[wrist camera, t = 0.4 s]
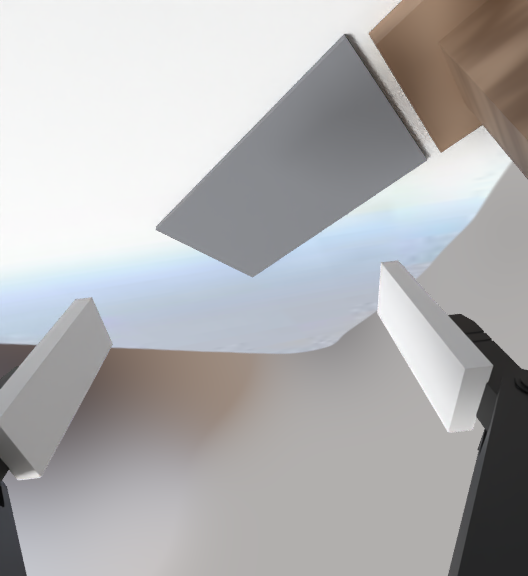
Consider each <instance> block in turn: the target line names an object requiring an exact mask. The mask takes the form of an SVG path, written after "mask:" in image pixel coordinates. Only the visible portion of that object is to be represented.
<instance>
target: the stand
mask: <svg viewBox="0 0 528 576" xmlns="http://www.w3.org/2000/svg"><path fill="white" fill-rule="evenodd" d="M369 35H370V37H371V39H372V40H373V42H374V44H375V45H376V47H377V49H378V50H379V52H380V54H381V55H382V57H383V58H384V60H385V62H386V63H387V65H388V67H389V68H390V70H391V72H392V73H393V75H394V77H395V78H396V80H397V82H398V83H399V85H400V87H401V88H402V90H403V92H404V93H405V95H406V97H407V98H408V100H409V102H410V103H411V105H412V107H413V108H414V110H415V112H416V113H417V115H418V116H419V118H420V120H421V121H422V123H423V125H424V126H425V128H426V130H427V131H428V133H429V135H430V136H431V138H432V140H433V141H434V143H435V144H436V146H437V147H438V149H439V150H440V152H443V151H444V150H446V149H447V148H449V147H450V146H452V145H453V144H455V143H456V142H458V141H459V140H461V139H462V138H464V137H465V136H467V135H468V134H470V133H471V132H473V131H474V130H476V129H477V128H479V127H480V126H482V125H483V126H484V127H485V128H486V129H487V131H488V132H489V133H490V134H491V136H492V137H493V138H494V139H495V140H496V142H497V143H498V144H499V145H500V146H501V148H502V149H503V150H504V151H505V152H506V154H507V155H508V156H509V157H510V158H511V160H512V161H513V162H514V163H515V164H516V166H517V167H518V168H519V169H520V171H522V173H523V174H524V175H525V177H526V178H527V179H528V0H402V1H401V2H400V3H399V4H398V5H397V6H396V7H395V8H394V9H393V10H392V11H391V12H390V13H389V14H388V15H387V16H386V17H385V18H384V19H383V20H382V21H381V22H380V23H379V24H378V25H377V26H376V27H375V28H374V29H373V30H372V31H371V32H370V33H369Z"/></svg>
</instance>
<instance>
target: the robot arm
mask: <svg viewBox="0 0 528 576" xmlns="http://www.w3.org/2000/svg"><path fill="white" fill-rule="evenodd" d="M377 313H378V315H379V317H380V318H381V320H382V322H383V323H384V325H385V327H386V328H387V330H388V332H389V333H390V335H391V337H392V339H393V340H394V342H395V343H396V345H397V347H398V348H399V350H400V352H401V354H402V355H403V357H404V359H405V360H406V362H407V364H408V366H409V367H410V369H411V371H412V372H413V374H414V376H415V377H416V379H417V381H418V382H419V384H420V386H421V387H422V389H423V391H424V392H425V394H426V396H427V398H428V399H429V401H430V403H431V404H432V406H433V408H434V409H435V411H436V413H437V414H438V416H439V418H440V419H441V421H442V423H443V425H444V426H445V428H446V429H447V431H448V433H450V432H459V431H468V430H473V428H474V425H475V421H476V418H478V420H479V421H480V422H481V424H482V425H483V427H484V428H485V430H484V432H483V436H482V438H481V441H480V444H479V447H478V450H479V452H478V456H477V460H476V464H475V468H474V472H473V476H472V480H471V485H470V488H469V492H468V496H467V501H466V505H465V509H464V513H463V517H462V521H461V525H460V529H459V533H458V537H457V541H456V545H455V549H454V553H453V558H452V562H451V566H450V570H449V574H448V576H528V370H524V369H521V368H520V367H519V366H518V365H517V364H516V363H515V362H514V361H513V360H512V359H511V358H510V357H509V356H508V355H507V354H506V353H505V352H504V351H503V350H502V349H501V348H500V347H499V346H498V345H497V344H496V343H495V342H494V341H492V340H491V338H490V337H489V336H488V335H487V334H486V333H484V331H483V330H482V329H481V328H480V327H479V326H478V325H477V324H476V323H475V322H474V321H472V320H471V319H469V318H467V317H465V316H463V315H462V314H455V315H447V314H446V313H445V312H444V311H443V309H442V308H441V307H440V306H439V305H438V304H437V303H436V302H435V300H434V299H433V298H432V297H431V296H430V295H429V294H428V293H427V292H426V291H425V289H424V288H423V287H422V286H421V285H420V284H419V283H418V282H417V281H416V279H415V278H414V277H413V276H412V275H411V274H410V273H409V272H408V271H407V270H406V268H405V267H404V266H403V265H402V264H401V263H400V262H399V261H390V262H381V271H380V284H379V298H378V312H377ZM112 345H113V344H112V341H111V339H110V337H109V335H108V332H107V330H106V328H105V326H104V323H103V321H102V319H101V317H100V314H99V312H98V310H97V308H96V305H95V303H94V301H93V299H92V297H91V298H83V299H75V300H74V302H73V303H72V304H71V305H70V306H69V308H68V309H67V310H66V311H65V312H64V314H63V315H62V316H61V317H60V318H59V320H58V321H57V322H56V323H55V324H54V326H53V327H52V328H51V329H50V330H49V332H48V333H47V334H46V335H45V336H44V338H43V339H42V340H41V341H40V342H39V344H38V345H37V346H36V347H35V348H34V350H33V351H32V352H31V353H30V354H29V355H28V357H27V358H26V359H25V360H24V362H23V363H22V364H21V365H20V366H18V367H15V368H14V369H13V370H11V371H10V372H9V373H7V374H6V375H5V376H3V377H2V378H1V379H0V576H27V575H26V571H25V566H24V562H23V557H22V553H21V548H20V544H19V539H18V535H17V530H16V526H15V521H14V517H13V512H12V508H11V503H10V499H9V494H8V489H7V486H6V485H5V483H4V482H3V481H2V479H3V478H4V476H5V475H6V473H7V471H8V470H10V471H11V473H12V474H13V475H14V476H15V477H16V478H17V479H18V480H23V479H32V478H41V477H42V475H43V473H44V471H45V469H46V467H47V466H48V464H49V462H50V460H51V458H52V456H53V455H54V453H55V451H56V449H57V447H58V445H59V443H60V442H61V440H62V438H63V436H64V434H65V432H66V430H67V428H68V427H69V425H70V423H71V421H72V419H73V417H74V415H75V413H76V412H77V410H78V408H79V406H80V404H81V402H82V400H83V399H84V397H85V395H86V393H87V391H88V389H89V387H90V386H91V384H92V382H93V380H94V378H95V376H96V374H97V373H98V371H99V369H100V367H101V365H102V363H103V361H104V359H105V358H106V356H107V354H108V352H109V350H110V348H111V346H112Z"/></svg>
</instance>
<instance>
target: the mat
mask: <svg viewBox="0 0 528 576" xmlns="http://www.w3.org/2000/svg"><path fill="white" fill-rule="evenodd" d="M425 161H427V159H426V157H425V156H424V154H423V153H422V151H421V150H420V148H419V147H418V145H417V143H416V142H415V140H414V139H413V137H412V136H411V134H410V133H409V131H408V130H407V128H406V127H405V125H404V124H403V122H402V121H401V119H400V118H399V116H398V115H397V113H396V112H395V110H394V109H393V107H392V106H391V104H390V103H389V101H388V100H387V98H386V97H385V95H384V94H383V92H382V91H381V89H380V88H379V86H378V84H377V83H376V81H375V80H374V78H373V77H372V75H371V74H370V72H369V71H368V69H367V68H366V66H365V65H364V63H363V62H362V60H361V59H360V57H359V56H358V54H357V53H356V51H355V50H354V48H353V47H352V45H351V44H350V42H349V41H348V39H347V38H346V36H345V35H343V36H342V37H341V38H340V39H339V40H338V41H337V42H336V43H335V44H334V45H333V46H332V47H331V48H330V49H329V50H328V51H327V52H326V53H325V54H324V55H323V56H322V58H321V59H320V60H319V61H318V62H317V63H316V64H315V65H314V66H313V67H312V68H311V69H310V70H309V71H308V72H307V73H306V74H305V75H304V76H303V77H302V78H301V79H300V80H299V81H298V82H297V83H296V84H295V85H294V86H293V87H292V88H291V89H290V90H289V91H288V92H287V93H286V94H285V95H284V96H283V97H282V98H281V99H280V100H279V101H278V103H277V104H276V105H275V106H274V107H273V108H272V109H271V110H270V111H269V112H268V113H267V114H266V115H265V116H264V117H263V118H262V119H261V120H260V121H259V122H258V123H257V124H256V125H255V126H254V127H253V128H252V129H251V130H250V131H249V132H248V133H247V134H246V135H245V136H244V137H243V138H242V139H241V140H240V141H239V142H238V143H237V144H236V145H235V147H234V148H233V149H232V150H231V151H230V152H229V153H228V154H227V155H226V156H225V157H224V158H223V159H222V160H221V161H220V162H219V163H218V164H217V165H216V166H215V167H214V168H213V169H212V170H211V171H210V172H209V173H208V174H207V175H206V176H205V177H204V178H203V179H202V180H201V181H200V182H199V183H198V184H197V185H196V186H195V187H194V188H193V189H192V190H191V192H190V193H189V194H188V195H187V196H186V197H185V198H184V199H183V200H182V201H181V202H180V203H179V204H178V205H177V206H176V207H175V208H174V209H173V210H172V211H171V212H170V213H169V214H168V215H167V216H166V217H165V218H164V219H163V220H162V221H161V222H160V223H159V224H158V225H157V226H156V230H157V231H159V232H161V233H163V234H165V235H167V236H169V237H171V238H173V239H175V240H177V241H180V242H182V243H184V244H186V245H188V246H190V247H192V248H194V249H196V250H198V251H200V252H202V253H204V254H206V255H208V256H210V257H212V258H214V259H216V260H218V261H220V262H222V263H224V264H226V265H228V266H230V267H232V268H235V269H237V270H239V271H241V272H243V273H245V274H247V275H249V276H251V277H254V276H255V275H257V274H258V273H260V272H261V271H263V270H264V269H266V268H267V267H269V266H270V265H272V264H273V263H275V262H276V261H278V260H279V259H281V258H282V257H284V256H285V255H287V254H288V253H290V252H291V251H293V250H294V249H296V248H297V247H299V246H300V245H302V244H303V243H305V242H306V241H308V240H309V239H311V238H312V237H314V236H315V235H317V234H318V233H319V232H321V231H322V230H324V229H325V228H327V227H328V226H330V225H331V224H333V223H334V222H336V221H337V220H339V219H340V218H342V217H343V216H345V215H346V214H348V213H349V212H351V211H352V210H354V209H355V208H357V207H358V206H360V205H361V204H363V203H364V202H366V201H367V200H369V199H370V198H372V197H373V196H375V195H376V194H378V193H379V192H381V191H382V190H384V189H385V188H387V187H388V186H389V185H391V184H392V183H394V182H395V181H397V180H398V179H400V178H401V177H403V176H404V175H406V174H407V173H409V172H410V171H412V170H413V169H415V168H416V167H418V166H419V165H421V164H422V163H424V162H425Z"/></svg>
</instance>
